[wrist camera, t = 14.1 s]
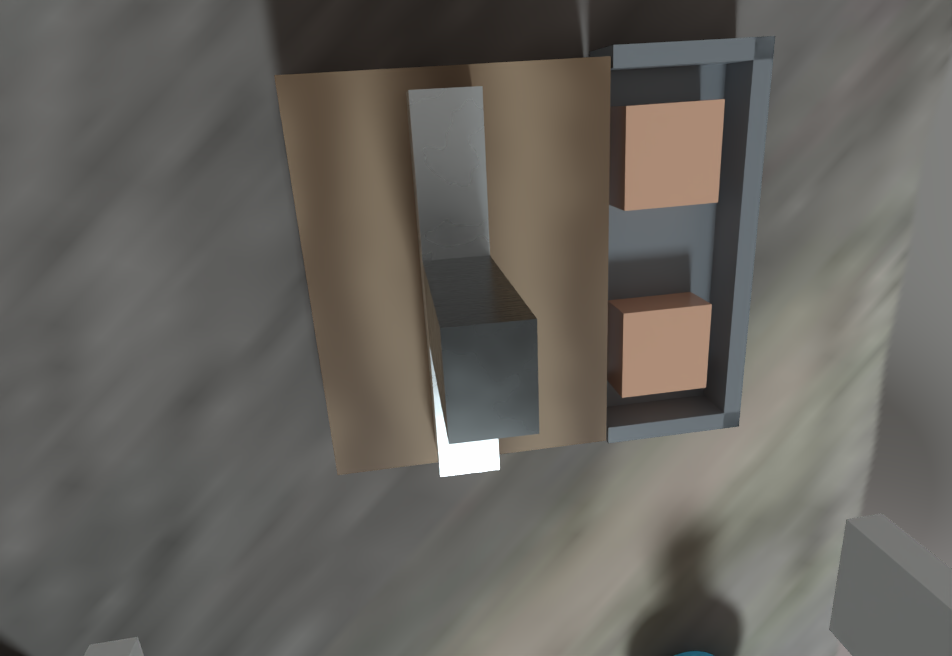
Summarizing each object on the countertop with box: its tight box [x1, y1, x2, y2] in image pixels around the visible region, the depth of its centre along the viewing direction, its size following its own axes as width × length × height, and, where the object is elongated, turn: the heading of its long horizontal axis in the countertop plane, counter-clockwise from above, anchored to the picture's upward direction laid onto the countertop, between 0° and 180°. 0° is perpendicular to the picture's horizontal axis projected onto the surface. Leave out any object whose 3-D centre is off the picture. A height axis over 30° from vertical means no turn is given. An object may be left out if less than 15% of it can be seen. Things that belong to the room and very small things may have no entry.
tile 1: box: [607, 292, 712, 398], centre depth 35 cm, size 5×5×2 cm
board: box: [274, 56, 611, 475], centre depth 33 cm, size 15×20×4 cm
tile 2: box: [609, 99, 725, 211], centre depth 32 cm, size 5×5×2 cm
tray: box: [590, 36, 775, 443], centre depth 34 cm, size 8×21×4 cm, turn 3°
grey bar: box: [406, 86, 539, 477], centre depth 25 cm, size 3×18×12 cm, turn 3°
